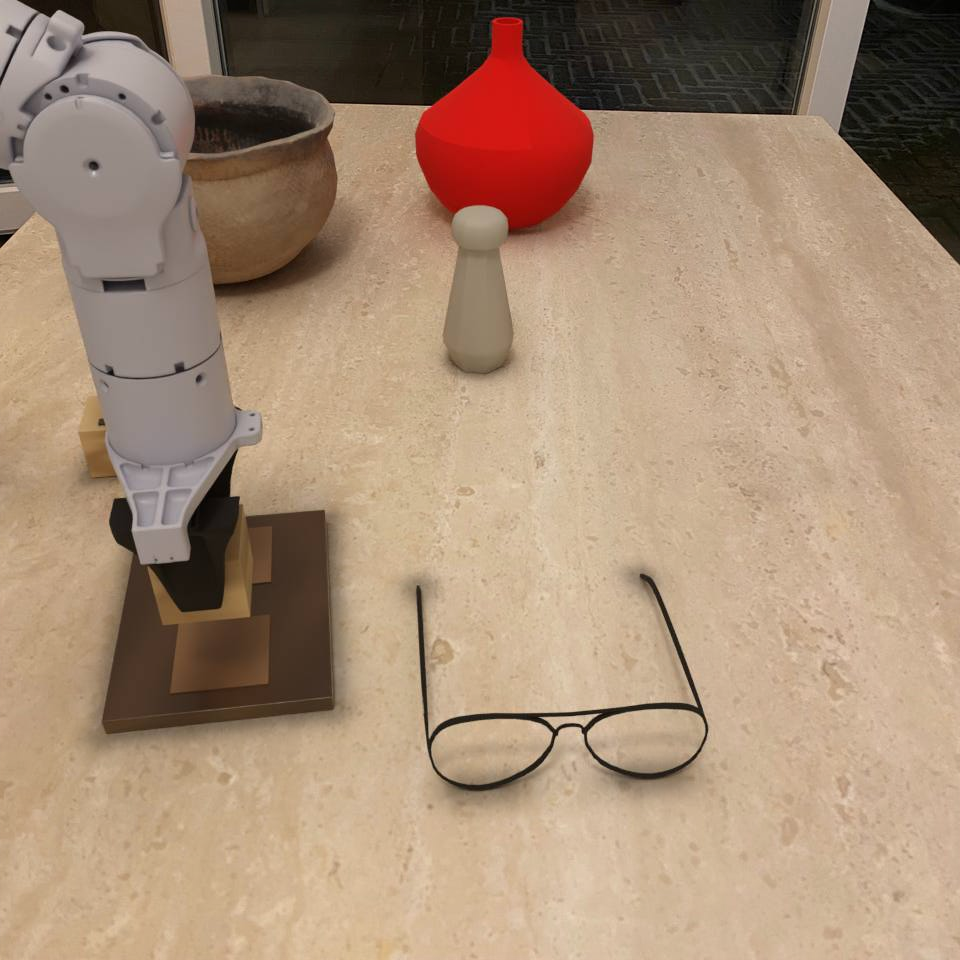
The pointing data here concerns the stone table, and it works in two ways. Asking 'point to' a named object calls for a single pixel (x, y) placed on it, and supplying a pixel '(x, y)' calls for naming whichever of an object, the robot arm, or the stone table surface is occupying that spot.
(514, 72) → the vase
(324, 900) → the stone table surface
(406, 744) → the stone table surface
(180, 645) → the word board
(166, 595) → the tile
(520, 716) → the glasses
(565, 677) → the stone table surface
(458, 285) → the salt shaker
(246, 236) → the ceramic bowl
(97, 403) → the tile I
